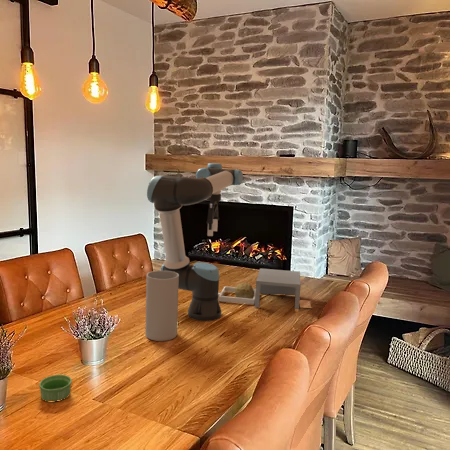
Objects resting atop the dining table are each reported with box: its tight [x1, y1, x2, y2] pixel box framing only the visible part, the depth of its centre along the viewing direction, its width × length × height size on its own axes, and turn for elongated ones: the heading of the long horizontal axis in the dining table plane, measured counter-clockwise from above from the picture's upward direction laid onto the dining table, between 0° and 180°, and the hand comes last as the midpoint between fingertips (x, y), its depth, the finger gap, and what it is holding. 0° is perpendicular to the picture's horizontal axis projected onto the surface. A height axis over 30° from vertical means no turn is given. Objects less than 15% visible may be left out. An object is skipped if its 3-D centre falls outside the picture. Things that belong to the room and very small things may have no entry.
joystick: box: [218, 286, 256, 305], centre depth 230 cm, size 30×18×15 cm, turn 81°
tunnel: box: [254, 268, 301, 310], centre depth 226 cm, size 28×25×14 cm
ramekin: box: [38, 374, 73, 402], centre depth 133 cm, size 9×9×4 cm
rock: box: [234, 282, 254, 299], centre depth 230 cm, size 10×11×10 cm
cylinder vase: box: [144, 270, 179, 342], centre depth 178 cm, size 12×12×25 cm
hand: (212, 233), depth 237 cm, fingers open, 13 cm apart
